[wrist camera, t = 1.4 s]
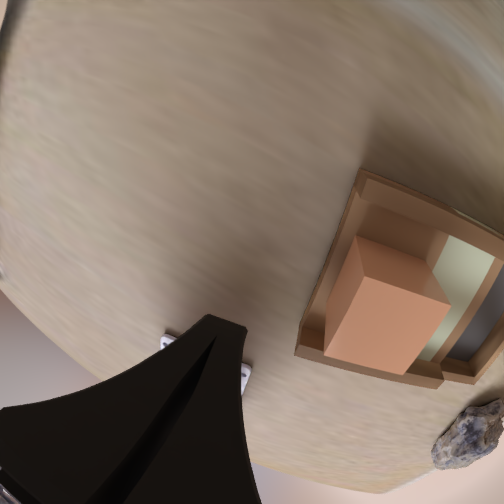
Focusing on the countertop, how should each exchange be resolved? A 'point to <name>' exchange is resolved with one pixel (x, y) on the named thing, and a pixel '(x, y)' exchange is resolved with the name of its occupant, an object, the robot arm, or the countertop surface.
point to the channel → (443, 267)
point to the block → (382, 308)
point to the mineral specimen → (470, 437)
